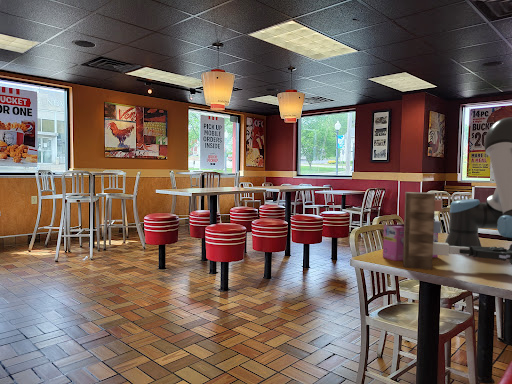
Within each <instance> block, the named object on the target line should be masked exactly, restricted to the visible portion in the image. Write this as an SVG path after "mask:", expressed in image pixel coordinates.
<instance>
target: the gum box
mask: <svg viewBox="0 0 512 384" xmlns="http://www.w3.org/2000/svg"><path fill="white" fill-rule="evenodd" d="M433 242H439V233H433ZM403 243H404V223H399V224H398V223H397V224H395V223H394V224H383V243H382V244H383V245H382V258H384V259H388V260H392V261H395V262H397V261H403ZM438 256H439V255H433V257H432V259H433V258H438Z"/></svg>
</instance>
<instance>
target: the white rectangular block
mask: <svg viewBox="0 0 512 384" xmlns="http://www.w3.org/2000/svg"><path fill="white" fill-rule="evenodd" d="M433 255H438V256H448V257H449V255H450V254H449V244H448V243H445V242H441V241H440V242H439V241H438V242H433Z"/></svg>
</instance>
